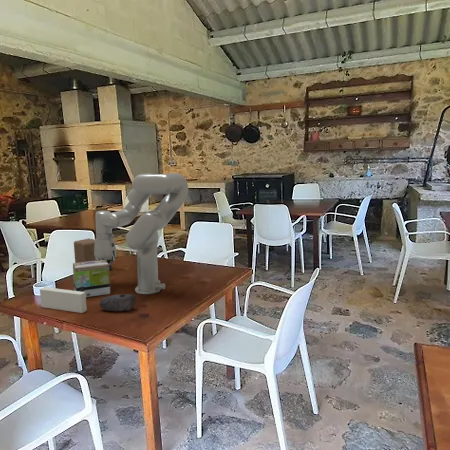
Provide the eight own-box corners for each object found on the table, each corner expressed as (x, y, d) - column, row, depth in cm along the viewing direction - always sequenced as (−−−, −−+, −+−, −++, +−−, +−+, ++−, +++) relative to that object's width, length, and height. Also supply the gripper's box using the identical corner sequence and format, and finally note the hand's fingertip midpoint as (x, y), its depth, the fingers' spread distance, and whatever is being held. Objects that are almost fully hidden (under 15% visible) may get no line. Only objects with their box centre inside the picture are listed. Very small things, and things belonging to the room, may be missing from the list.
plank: (86, 310, 167) (85, 292, 166) (82, 313, 164) (80, 294, 163) (46, 304, 174) (44, 287, 172) (41, 307, 171) (39, 289, 170)
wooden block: (86, 281, 204) (83, 243, 201) (75, 278, 210) (72, 241, 207) (103, 276, 212) (100, 240, 209) (91, 273, 218) (89, 237, 215)
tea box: (77, 299, 180) (74, 268, 177) (74, 292, 188) (71, 262, 186) (111, 294, 186) (109, 263, 184) (106, 287, 195) (104, 258, 192)
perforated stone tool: (97, 312, 165) (96, 296, 164) (102, 307, 170) (101, 292, 169) (133, 313, 164) (132, 297, 163) (136, 308, 169) (136, 292, 168)
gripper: (121, 235, 195) (122, 271, 199) (96, 233, 200) (97, 268, 203) (112, 239, 188) (114, 276, 192) (86, 236, 193) (88, 272, 196)
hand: (105, 271), depth 198 cm, fingers closed
